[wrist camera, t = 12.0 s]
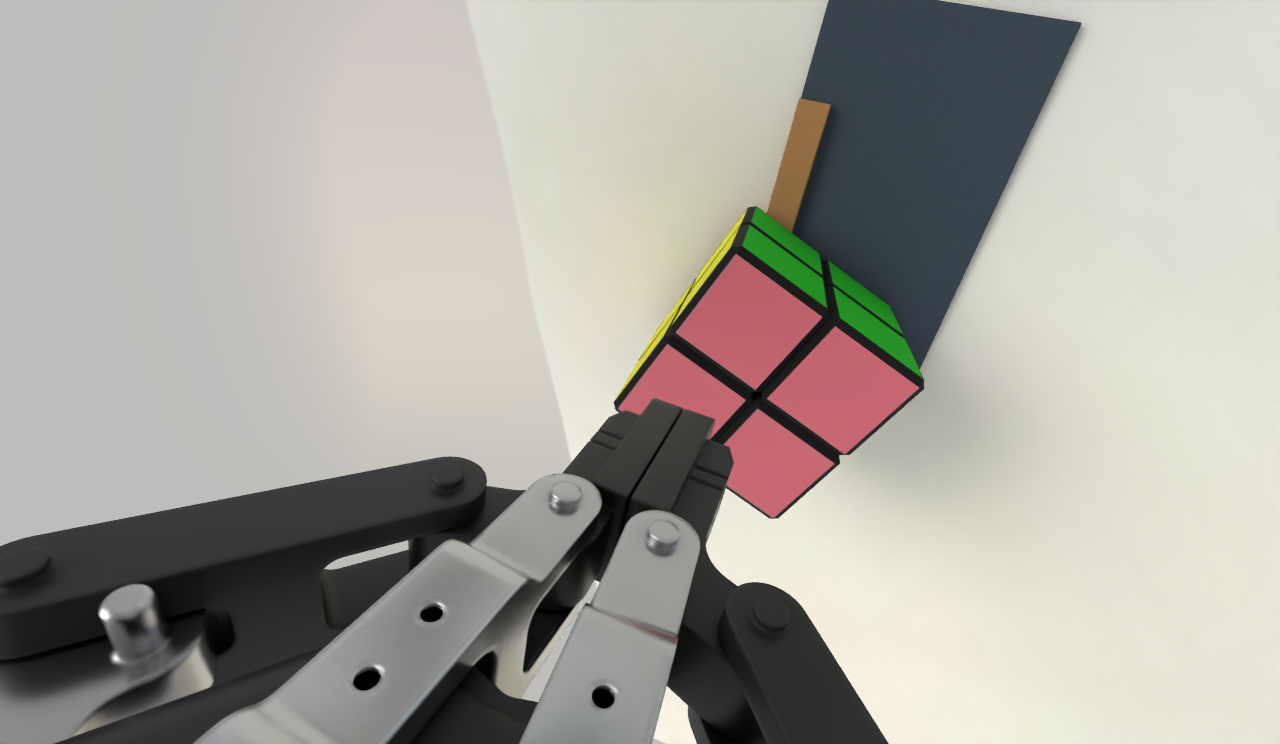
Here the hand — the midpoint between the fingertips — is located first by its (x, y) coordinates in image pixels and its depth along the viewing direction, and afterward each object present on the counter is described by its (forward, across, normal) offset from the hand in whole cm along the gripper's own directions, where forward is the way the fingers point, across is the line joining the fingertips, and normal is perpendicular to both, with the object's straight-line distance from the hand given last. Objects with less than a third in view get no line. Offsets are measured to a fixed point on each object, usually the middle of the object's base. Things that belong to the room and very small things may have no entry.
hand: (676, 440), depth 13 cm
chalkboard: (+23, -4, -2) cm, 23 cm away
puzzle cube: (+16, +4, +3) cm, 17 cm away
